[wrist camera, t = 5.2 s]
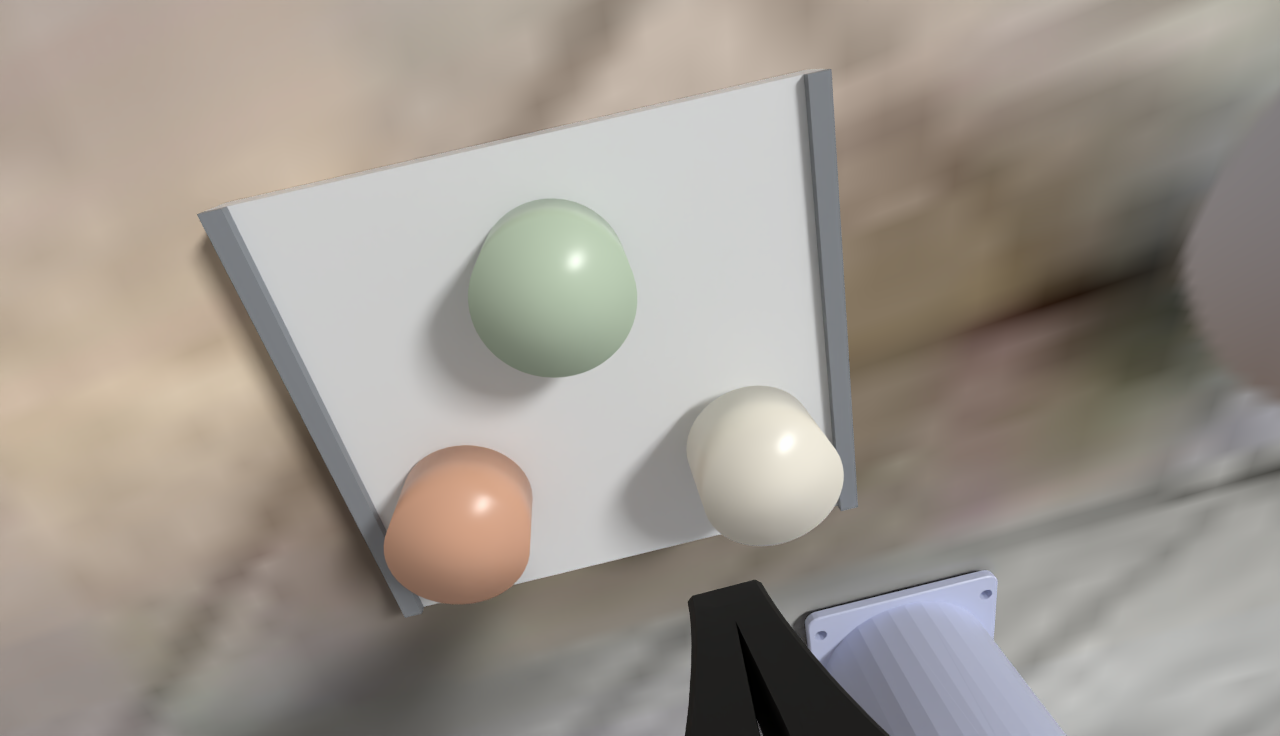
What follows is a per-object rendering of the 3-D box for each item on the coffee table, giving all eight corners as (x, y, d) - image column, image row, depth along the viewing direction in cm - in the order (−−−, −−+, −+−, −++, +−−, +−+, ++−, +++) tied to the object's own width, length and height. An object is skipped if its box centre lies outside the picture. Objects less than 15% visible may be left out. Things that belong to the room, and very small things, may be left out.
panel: (840, 481, 23) (857, 506, 22) (413, 585, 23) (404, 617, 22) (809, 68, 17) (831, 68, 16) (225, 202, 17) (196, 214, 15)
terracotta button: (546, 532, 21) (545, 585, 19) (428, 561, 21) (413, 617, 19) (512, 432, 19) (506, 478, 17) (382, 462, 19) (360, 512, 17)
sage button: (640, 323, 18) (651, 356, 16) (504, 355, 18) (497, 393, 16) (609, 182, 16) (617, 200, 14) (458, 217, 16) (443, 240, 14)
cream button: (817, 479, 21) (847, 527, 18) (697, 508, 20) (714, 559, 18) (806, 372, 19) (839, 411, 17) (676, 403, 19) (691, 446, 17)
